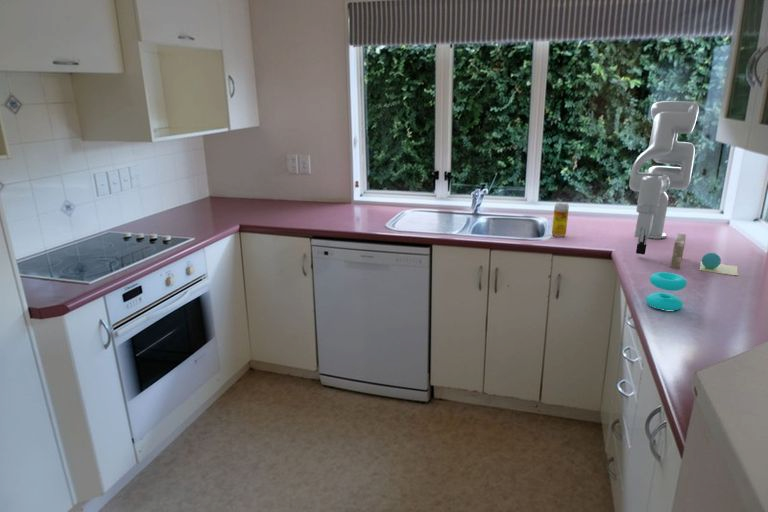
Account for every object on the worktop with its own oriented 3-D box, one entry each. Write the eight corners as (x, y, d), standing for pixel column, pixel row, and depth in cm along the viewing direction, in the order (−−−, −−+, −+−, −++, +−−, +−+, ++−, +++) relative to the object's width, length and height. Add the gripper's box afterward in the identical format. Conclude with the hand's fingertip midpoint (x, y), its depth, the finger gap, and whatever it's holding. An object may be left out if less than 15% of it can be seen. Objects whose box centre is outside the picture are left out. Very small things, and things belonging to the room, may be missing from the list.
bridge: (670, 267, 201) (674, 242, 198) (673, 256, 213) (677, 233, 210) (679, 268, 199) (683, 243, 196) (682, 257, 212) (686, 234, 209)
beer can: (556, 237, 240) (560, 205, 235) (549, 234, 246) (552, 202, 241) (568, 236, 242) (571, 204, 237) (560, 233, 247) (564, 201, 243)
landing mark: (700, 261, 207) (700, 261, 207) (737, 266, 201) (737, 266, 201) (699, 270, 197) (699, 269, 197) (737, 276, 191) (737, 275, 191)
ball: (716, 248, 199) (725, 262, 198) (700, 255, 203) (709, 268, 202) (713, 252, 195) (722, 266, 194) (697, 259, 199) (705, 273, 198)
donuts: (680, 271, 166) (692, 283, 156) (675, 301, 169) (686, 314, 159) (646, 270, 167) (656, 280, 158) (641, 299, 170) (651, 311, 161)
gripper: (639, 204, 215) (632, 247, 220) (634, 211, 202) (627, 256, 208) (660, 206, 211) (652, 250, 216) (656, 213, 199) (648, 260, 204)
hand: (640, 253), depth 212 cm, fingers closed
